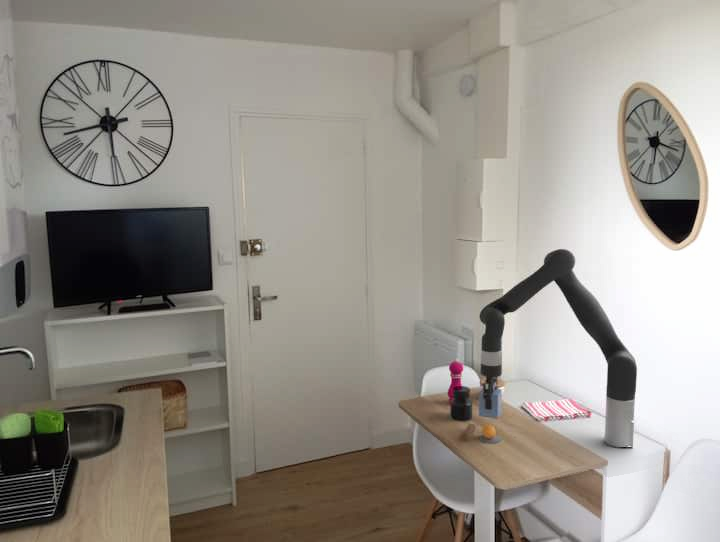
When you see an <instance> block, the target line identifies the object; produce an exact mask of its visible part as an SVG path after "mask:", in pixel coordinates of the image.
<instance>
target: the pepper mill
mask: <svg viewBox="0 0 720 542" xmlns="http://www.w3.org/2000/svg"><path fill="white" fill-rule="evenodd" d="M463 365H464V364H462V363H461V362H459V359H458V358H454V360H453V362H451V363H450V364H449V366H448V371H449V372H450V374H449V375H450V376H449V377H450V378H451V382H450V385H449V388H448V390H447V396H448V398H449V399H448V404H449V405H450V402H451V400H452V399H453V388H454V387H456V386H463V385H462V377H463V373H462V372H464V366H463Z"/></svg>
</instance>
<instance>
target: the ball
mask: <svg viewBox="0 0 720 542" xmlns="http://www.w3.org/2000/svg"><path fill="white" fill-rule="evenodd" d="M496 433H497V432H496V429H495V427H494V426H493V425H491V424H487V425H484V426H483V427H482V429H481V435H483V436H484V437H485V438H487V439H492V438H493V437H494V436H495V435H497V434H496Z"/></svg>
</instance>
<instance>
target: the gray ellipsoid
mask: <svg viewBox="0 0 720 542" xmlns="http://www.w3.org/2000/svg"><path fill="white" fill-rule="evenodd" d="M478 439H479V440H480V441H481V442H483V443H486V444H498V443H500V442H501V441H502V437H501V436H499V435H497V434H495V436H494V437H493V438H492V439H487V438H485V437H484V436H483V435H482V434H480V435H479V437H478Z"/></svg>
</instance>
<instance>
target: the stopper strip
mask: <svg viewBox="0 0 720 542" xmlns="http://www.w3.org/2000/svg"><path fill="white" fill-rule="evenodd" d="M475 427H476V426H475V424H474V423H469V424H468V425H467V426H466V427H465V429H464V431H463V433H462V441H466V442H469V440H470V438H471V437H472V436H473V434H474V432H475V431H474V430H475ZM471 435H472V436H471Z"/></svg>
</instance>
